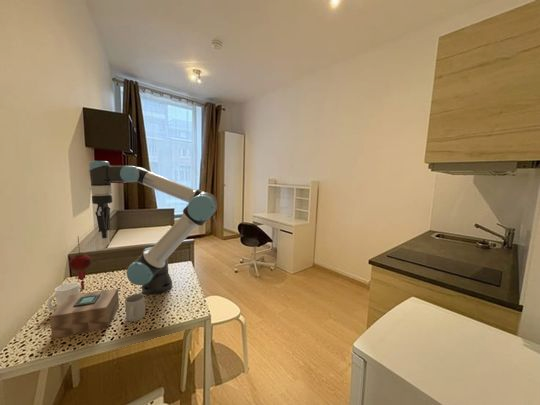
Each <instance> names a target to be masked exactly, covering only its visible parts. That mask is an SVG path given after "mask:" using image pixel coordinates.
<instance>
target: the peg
mask: <svg viewBox="0 0 540 405" xmlns="http://www.w3.org/2000/svg"><path fill="white" fill-rule="evenodd" d="M94 299H95V297H88V298H83V299H82V301H81V302H80V303H86V302H92V301H93V300H94ZM80 303H79V304H80Z"/></svg>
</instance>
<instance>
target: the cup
mask: <svg viewBox="0 0 540 405" xmlns="http://www.w3.org/2000/svg"><path fill="white" fill-rule="evenodd" d="M124 305H125V308H124V309H125V319H126V321H127V322H130V323H132V322H134V323H135V322H137V321H140V320H142V319H143V318H144V317H145V315H146V304H145V294H144V293H134V294H131V295H128V296H127V297H126V298H125V300H124Z"/></svg>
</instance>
